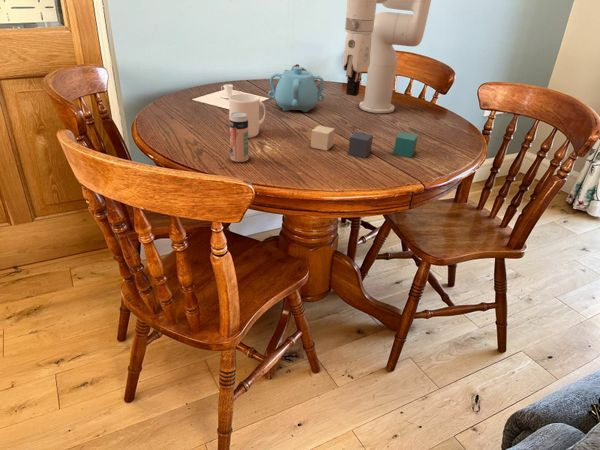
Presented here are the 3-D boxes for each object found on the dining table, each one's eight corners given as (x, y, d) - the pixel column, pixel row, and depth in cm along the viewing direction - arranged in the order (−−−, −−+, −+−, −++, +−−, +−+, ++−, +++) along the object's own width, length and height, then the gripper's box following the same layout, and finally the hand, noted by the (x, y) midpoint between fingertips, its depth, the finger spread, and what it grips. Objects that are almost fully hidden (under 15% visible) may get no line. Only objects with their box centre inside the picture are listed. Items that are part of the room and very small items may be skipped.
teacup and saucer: (245, 96, 170) (245, 85, 168) (231, 101, 164) (231, 89, 162) (227, 92, 174) (227, 81, 172) (213, 96, 168) (212, 85, 166)
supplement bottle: (230, 155, 122) (229, 111, 116) (248, 156, 123) (248, 111, 116) (229, 163, 118) (228, 117, 112) (248, 163, 119) (248, 117, 112)
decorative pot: (263, 104, 164) (264, 64, 157) (300, 98, 172) (302, 60, 165) (290, 117, 153) (291, 75, 146) (328, 110, 161) (331, 70, 154)
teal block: (397, 148, 133) (400, 131, 130) (415, 151, 131) (418, 134, 129) (393, 154, 129) (396, 137, 127) (411, 157, 127) (414, 140, 125)
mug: (274, 133, 139) (274, 97, 133) (240, 140, 132) (240, 103, 126) (257, 125, 144) (257, 90, 139) (224, 132, 137) (223, 96, 132)
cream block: (317, 141, 134) (318, 125, 132) (333, 145, 133) (334, 128, 130) (310, 147, 130) (311, 130, 128) (326, 150, 129) (328, 133, 126)
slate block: (353, 148, 131) (355, 131, 129) (370, 152, 130) (373, 135, 127) (348, 154, 127) (349, 137, 125) (365, 158, 126) (367, 140, 123)
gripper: (363, 31, 116) (355, 103, 125) (381, 24, 127) (372, 90, 137) (335, 27, 118) (330, 98, 128) (355, 21, 130) (349, 86, 140)
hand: (352, 94), depth 132 cm, fingers closed
